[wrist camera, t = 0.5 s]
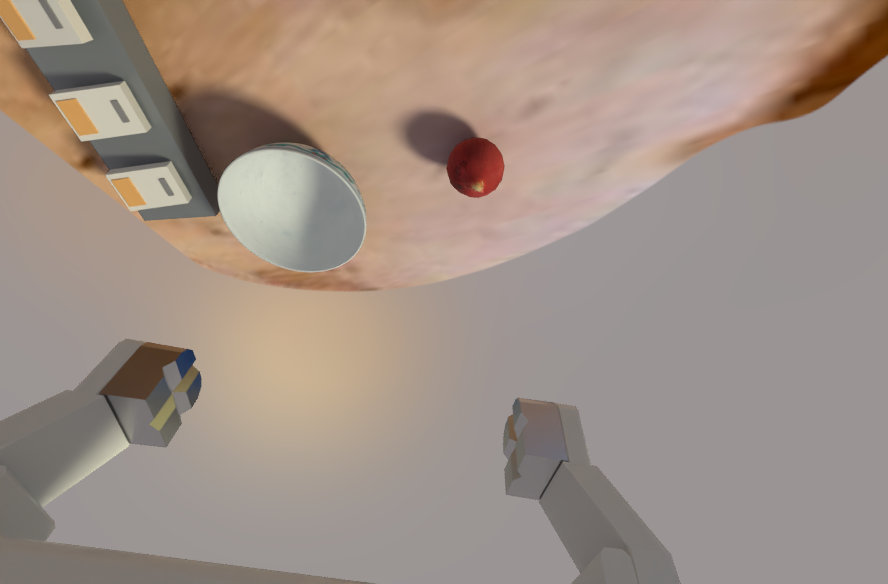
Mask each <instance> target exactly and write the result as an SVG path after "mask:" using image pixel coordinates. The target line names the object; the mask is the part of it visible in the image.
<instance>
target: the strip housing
mask: <svg viewBox="0 0 888 584" xmlns="http://www.w3.org/2000/svg"><path fill="white" fill-rule="evenodd" d="M70 1H71V2H72V4H73V6H74V7H75V9H76V11H77V13H78V14H79V16H80V18H81V19H82V21H83V23H84V24H85V26H86V28H87V30H88V31H89V33H90V35H91V36H92V38H93V40H91V41H88V42H86V43H83V44H72V45H59V46H46V47H32V48H25V49H26V50H27V51H28V53H29V54H30V56H31V57H32V59H33V60H34V62H35V63H36V64H37V66H38V67H39V69H40V70H41V72H42V73H43V75H44V76H45V77H46V79H47V80H48V82H49V83H50V85H51V86H52V88H53V89H54V90H55V91H56V90H62V89H69V88H76V87H84V86H91V85H98V84H105V83H112V82H119V81H125V82H126V84H127V86H128V87H129V89H130V91H131V93H132V94H133V96H134V98H135V99H136V101H137V103H138V105H139V106H140V108H141V110H142V112H143V113H144V115H145V117H146V119H147V120H148V122H149V124H150V126H151V127H152V128H151V129H150V130H149V131H148V132H146V133H139V134H132V135H125V136H118V137H111V138H104V139H96V140H89V141H90V142H91V144H92V145H93V147H94V148H95V150H96V151H97V153H98V154H99V155H100V157H101V158H102V160H103V161H104V163H105V164H106V166H107V167H108V168H109V170H111V169H118V168H125V167H132V166H139V165H146V164H153V163H161V162H168V161H171V162H172V164H173V165H174V167H175V169H176V171H177V172H178V174H179V176H180V178H181V179H182V181H183V183H184V185H185V186H186V188H187V190H188V192H189V193H190V195H191V197H192V198H191V200H190V201H189V203H185V204H178V205H171V206H164V207H157V208H150V209H143V210H138V212H139V213H140V215H141V216H142V218H143V219H144V220H145V221H147V220H162V219H177V218H191V217H206V216H216V215H217V214H218V213H219V211H220V209H219V205H218V196H217V192H218V185H217V183H216V181H215V179H214V177H213V175H212V173H211V171H210V169H209V168H208V166H207V164H206V162H205V160H204V158H203V156H202V154H201V152H200V150H199V148H198V146H197V144H196V142H195V140H194V139H193V137H192V135H191V133H190V131H189V129H188V127H187V125H186V123H185V121H184V119H183V117H182V115H181V113H180V111H179V109H178V108H177V106H176V104H175V102H174V100H173V98H172V96H171V94H170V92H169V90H168V88H167V86H166V84H165V82H164V80H163V79H162V77H161V75H160V73H159V71H158V69H157V67H156V65H155V63H154V61H153V59H152V57H151V55H150V53H149V51H148V50H147V48H146V46H145V44H144V42H143V40H142V38H141V36H140V34H139V32H138V30H137V28H136V26H135V24H134V22H133V21H132V19H131V17H130V15H129V13H128V11H127V9H126V7H125V5H124V3H123V1H122V0H70Z"/></svg>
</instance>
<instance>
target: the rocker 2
mask: <svg viewBox="0 0 888 584" xmlns="http://www.w3.org/2000/svg"><path fill="white" fill-rule="evenodd" d="M49 96H50V98H51V99H52V101H53V102H54V103H55V105H56V106H57V108H58V109H59V111H60V112H61V113H62V115H63V116H64V118H65V119H66V120H67V122H68V123H69V125H70V126H71V128H72V129H73V130H74V132H75V133H76V135H77V136H78V137H79V139H80V140H81V142H82V141H89V140H96V139H104V138H111V137H118V136H125V135H132V134H139V133H146V132H148V131H149V130H150V129H151V128H152V127H151V126H150V124H149V122H148V120H147V119H146V117H145V115H144V113H143V112H142V110H141V108H140V106H139V105H138V103H137V101H136V99H135V98H134V96H133V94H132V93H131V91H130V89H129V87H128V86H127V84H126V82H125V81H119V82H112V83H105V84H98V85H91V86H84V87H76V88H69V89H62V90H56V91H54V92H52V93H51V94H49Z"/></svg>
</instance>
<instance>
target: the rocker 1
mask: <svg viewBox="0 0 888 584" xmlns="http://www.w3.org/2000/svg"><path fill="white" fill-rule="evenodd" d="M0 18H1V19H2V20H3V22H4V23H5V25H6V26H7V28H8V29H9V30H10V32H11V33H12V35H13V36H14V38H15V39H16V40H17V42H18V43H19V45H20V46H21V48H32V47H46V46H59V45H72V44H83V43H86V42H88V41H91V40H93V38H92V36H91V35H90V33H89V31H88V30H87V28H86V26H85V24H84V23H83V21H82V19H81V18H80V16H79V14H78V13H77V11H76V9H75V7H74V6H73V4H72V2H71V1H70V0H0Z"/></svg>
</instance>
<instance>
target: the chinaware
mask: <svg viewBox="0 0 888 584" xmlns="http://www.w3.org/2000/svg"><path fill="white" fill-rule="evenodd" d="M217 196H218V205H219V209H220V212H221V215H222V217H223V219H224V221H225V223H226V225H227V227H228V228H229V230H230V231H231V232H232V234H233V235H234V236H235V237H236V238H237V240H238V241H239V242H240V243H241V244H242V245H244V246H245V247H246V248H247V249H248V250H250V251H251V252H252V253H254V254H255V255H257V256H258V257H260V258H262V259H263V260H265V261H267V262H269V263H272V264H274V265H276V266H279V267H282V268H285V269H289V270H294V271H300V272H321V271H327V270H331V269H334V268H337V267H339V266H341V265H343V264H345V263H346V262H348V261H349V260H351V259H352V258H353V257H354V256H355V255H356V254H357V252H358V251H359V249H360V248H361V246H362V244H363V241H364V238H365V234H366V212H365V206H364V202H363V199H362V196H361V193H360V191H359V188H358V186H357V184H356V183H355V181H354V179H353V178H352V176H351V175H350V174H349V172H348V171H347V170H346V169H345V168H344V167H343V166H342V165H341V164H340V163H339V162H338V161H337V160H335V159H334V158H333V157H331V156H330V155H328V154H326V153H325V152H323V151H321V150H319V149H316V148H314V147H311V146H308V145H304V144H299V143H291V142H280V143H272V144H267V145H263V146H260V147H257V148H254V149H252V150H250V151H248V152H246V153H244V154H242V155H241V156H239V157H238V158H236V159H235V160H234V161H232V162H231V163H230V164H229V165H228V167H227V168H226V169H225V171H224V172H223V174H222V176H221V178H220V181H219V185H218V192H217Z"/></svg>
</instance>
